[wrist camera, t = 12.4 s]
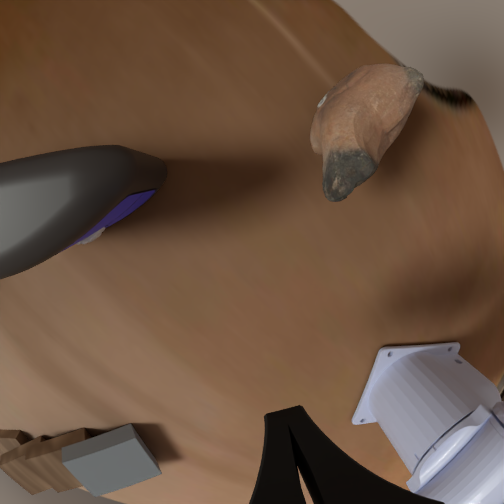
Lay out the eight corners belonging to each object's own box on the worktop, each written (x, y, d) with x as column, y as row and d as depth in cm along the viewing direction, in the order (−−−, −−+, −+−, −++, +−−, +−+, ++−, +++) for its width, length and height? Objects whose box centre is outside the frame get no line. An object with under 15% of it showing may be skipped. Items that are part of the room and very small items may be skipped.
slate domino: (135, 437, 19) (62, 462, 16) (162, 473, 20) (94, 496, 17) (130, 423, 21) (61, 447, 18) (155, 459, 22) (91, 482, 19)
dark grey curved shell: (-25, 245, 16) (-109, 284, 7) (-30, 185, 15) (-121, 200, 6) (173, 234, 18) (134, 292, 9) (170, 156, 17) (125, 134, 8)
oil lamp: (314, 210, 18) (379, 234, 11) (260, 170, 18) (297, 165, 10) (387, 105, 17) (469, 80, 10) (341, 64, 16) (409, 15, 9)
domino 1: (15, 438, 19) (-19, 436, 18) (44, 470, 20) (7, 466, 20) (22, 426, 21) (-12, 425, 20) (49, 458, 22) (13, 455, 22)
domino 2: (39, 448, 18) (-2, 466, 16) (74, 478, 20) (32, 495, 17) (41, 435, 20) (1, 454, 18) (73, 466, 22) (32, 483, 19)
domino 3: (84, 441, 19) (25, 460, 16) (115, 475, 20) (57, 492, 17) (84, 427, 20) (26, 446, 18) (112, 461, 22) (57, 479, 19)
